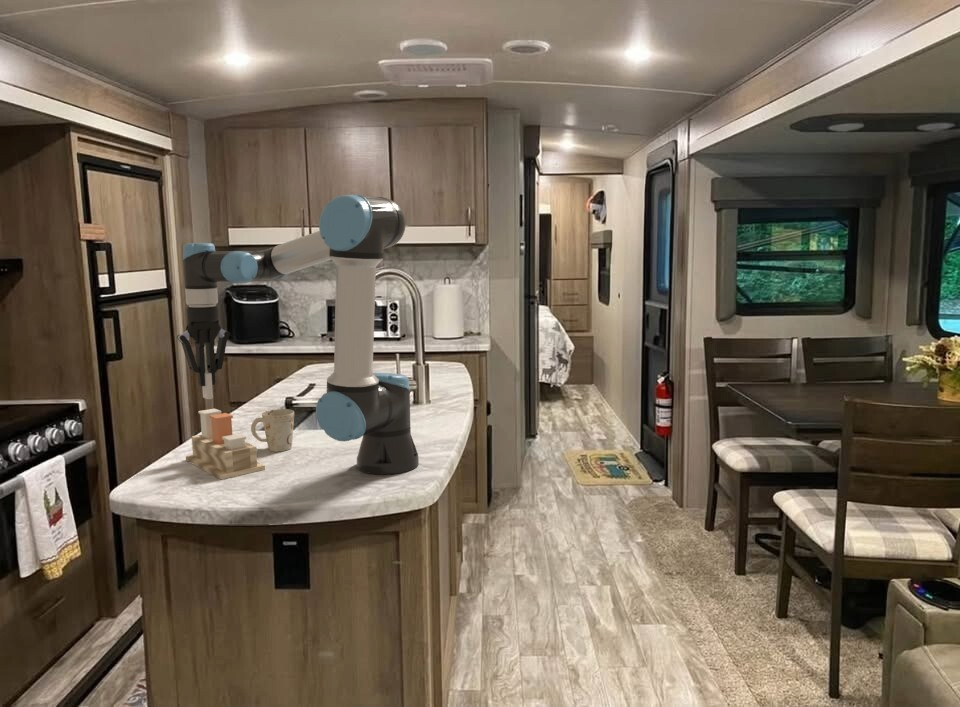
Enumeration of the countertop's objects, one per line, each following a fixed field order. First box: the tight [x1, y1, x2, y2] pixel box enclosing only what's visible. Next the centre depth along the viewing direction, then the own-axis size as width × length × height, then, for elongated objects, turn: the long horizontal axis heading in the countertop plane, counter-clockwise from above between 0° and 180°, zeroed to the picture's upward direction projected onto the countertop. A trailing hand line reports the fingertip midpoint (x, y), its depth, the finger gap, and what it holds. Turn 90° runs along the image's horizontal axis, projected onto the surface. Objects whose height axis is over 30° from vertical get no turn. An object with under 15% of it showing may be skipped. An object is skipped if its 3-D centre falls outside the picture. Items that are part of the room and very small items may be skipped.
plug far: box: [197, 408, 222, 439], centre depth 190 cm, size 4×4×7 cm
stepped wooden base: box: [185, 434, 266, 480], centre depth 186 cm, size 22×11×6 cm, turn 42°
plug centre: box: [209, 412, 234, 445], centre depth 185 cm, size 4×4×7 cm
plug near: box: [222, 433, 247, 450], centre depth 180 cm, size 4×4×7 cm
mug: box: [250, 408, 295, 453], centre depth 200 cm, size 8×13×10 cm, turn 78°
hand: (207, 397), depth 189 cm, fingers closed
